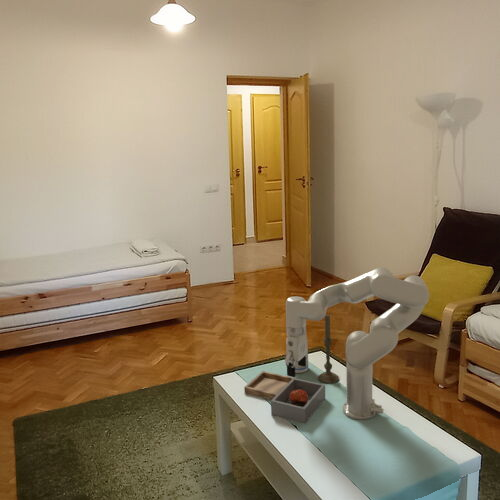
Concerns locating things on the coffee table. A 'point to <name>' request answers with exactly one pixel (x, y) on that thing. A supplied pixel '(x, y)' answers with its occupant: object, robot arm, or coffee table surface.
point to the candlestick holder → (328, 356)
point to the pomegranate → (298, 397)
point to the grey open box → (293, 411)
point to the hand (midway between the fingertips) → (296, 370)
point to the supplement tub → (297, 367)
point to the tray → (267, 385)
